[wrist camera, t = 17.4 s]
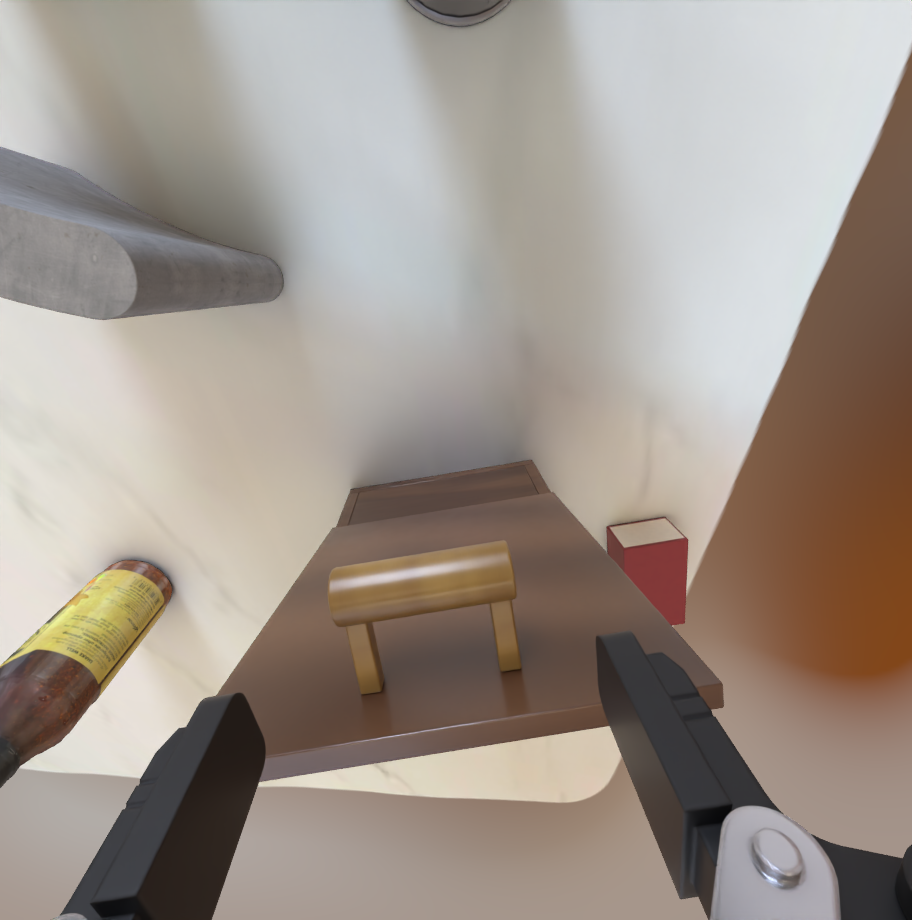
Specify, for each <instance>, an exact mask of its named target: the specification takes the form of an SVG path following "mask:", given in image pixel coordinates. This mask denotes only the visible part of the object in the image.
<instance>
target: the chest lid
mask: <svg viewBox="0 0 912 920" xmlns="http://www.w3.org/2000/svg"><path fill="white" fill-rule="evenodd" d="M629 630H630V631H631V632H632V633H633V634H634V635H635V637H636V638H637V640H638V642H639V644H640V645H641V647H642V649H643V650H644V652H645V654H651V653H657V652H663V653H664V654H665V655H667V656H668V657H669V658H670V659H672V660H673V661H674V662H675V663H677V664H678V665H679V666H680V667H682V668H683V669H684V670H685V672H686V673H687V675H688V676H689V678H690V679H691V681H692V682H693V684H694V685H695V687H696V688H697V690H698V691H699V694H700V696H701V697H703V699H704V700H705V702H706V703H707V705H708V706H709V708H710V710H711V709H718V708H723V707H724V700H723V684H722V683H721V681H720V680H719V679H718V678H717V677H716V676H715V675H714V673H713V672H712V671H711V670H710V669H709V668H708V667H707V665H706V664H705V663H704V662H703V661H702V660H701V659H700V658H699V656H698V655H697V654H696V653H695V652H694V651H693V650H692V649H691V647H690V646H689V645H688V644H687V643H686V642H685V641H684V639H683V638H682V637H681V636H680V635H679V634H678V633H677V632H676V630H675V629H674V628H673V627H672V626H671V625H670V624H669V622H668V621H667V620H666V619H665V618H664V617H663V616H662V615H661V613H660V612H659V611H658V610H657V609H656V608H655V607H654V606H653V604H652V603H651V602H650V601H649V600H648V599H647V598H646V596H645V595H644V594H643V593H642V592H641V591H640V590H639V589H638V587H637V586H636V585H635V584H634V583H633V582H632V581H631V580H630V578H629V577H628V576H627V575H626V574H625V573H624V572H623V570H622V569H621V568H620V567H619V566H618V565H617V564H616V563H615V561H614V560H613V559H612V558H611V557H610V556H609V555H608V554H607V552H606V551H605V550H604V549H603V548H602V547H601V546H600V544H599V543H598V542H597V541H596V540H595V539H594V538H593V537H592V535H591V534H590V533H589V532H588V531H587V530H586V529H585V528H584V526H583V525H582V524H581V523H580V522H579V521H578V520H577V518H576V517H575V516H574V515H573V514H572V513H571V512H570V511H569V509H568V508H567V507H566V506H565V505H564V504H563V503H562V502H561V500H560V499H559V498H558V497H557V496H556V495H555V494H554V493H553V492H551V493H545V494H539V495H533V496H527V497H520V498H514V499H508V500H502V501H496V502H490V503H484V504H478V505H472V506H465V507H459V508H453V509H447V510H441V511H435V512H429V513H423V514H416V515H410V516H404V517H398V518H392V519H386V520H380V521H374V522H367V523H361V524H355V525H349V526H343V527H337V528H332V530H331V531H330V533H329V534H328V535H327V537H326V538H325V540H324V541H323V543H322V544H321V545H320V547H319V548H318V550H317V551H316V553H315V554H314V556H313V557H312V558H311V560H310V561H309V563H308V564H307V566H306V567H305V568H304V570H303V571H302V573H301V574H300V576H299V577H298V579H297V580H296V581H295V583H294V584H293V586H292V587H291V589H290V590H289V591H288V593H287V594H286V596H285V597H284V599H283V600H282V602H281V603H280V604H279V606H278V607H277V609H276V610H275V612H274V613H273V615H272V616H271V617H270V619H269V620H268V622H267V623H266V625H265V626H264V627H263V629H262V630H261V632H260V633H259V635H258V636H257V638H256V639H255V640H254V642H253V643H252V645H251V646H250V648H249V649H248V650H247V652H246V653H245V655H244V656H243V658H242V659H241V661H240V662H239V663H238V665H237V666H236V668H235V669H234V671H233V672H232V673H231V675H230V676H229V678H228V679H227V681H226V682H225V684H224V685H223V686H222V688H221V689H220V691H219V692H218V694H217V695H216V696H220V695H226V694H232V693H238V692H240V693H243V694H244V695H245V697H246V699H247V701H248V703H249V705H250V708H251V710H252V712H253V714H254V716H255V719H256V721H257V723H258V725H259V728H260V730H261V732H262V734H263V737H264V740H265V746H266V757H265V764H264V768H263V772H262V774H261V777H260V780H259V782H262V781H268V780H274V779H280V778H287V777H293V776H299V775H305V774H312V773H318V772H324V771H330V770H337V769H343V768H349V767H355V766H362V765H368V764H374V763H380V762H387V761H393V760H399V759H405V758H412V757H418V756H424V755H430V754H437V753H443V752H449V751H455V750H462V749H468V748H474V747H480V746H487V745H493V744H499V743H505V742H512V741H518V740H524V739H530V738H536V737H543V736H549V735H555V734H561V733H568V732H574V731H580V730H586V729H593V728H599V727H605V726H610V725H609V723H608V720H607V718H606V715H605V712H604V709H603V706H602V703H601V699H600V694H599V688H598V675H597V656H596V636H598V635H604V634H610V633H617V632H623V631H629Z"/></svg>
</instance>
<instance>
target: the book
mask: <svg viewBox="0 0 912 920" xmlns="http://www.w3.org/2000/svg"><path fill="white" fill-rule="evenodd" d="M607 548H608V555H609V556H610V557H611V558H612V559H613V560H614V561H615V563H616V564H617V565H618V566H619V567H620V568H621V569H622V570H623V572H624V573H625V574H626V575H627V576H628V577H629V578H630V580H631V581H632V582H633V583H634V584H635V585H636V586H637V587H638V589H639V590H640V591H641V592H642V593H643V594H644V595H645V596H646V598H647V599H648V600H649V601H650V602H651V603H652V604H653V606H654V607H655V608H656V609H657V610H658V611H659V612H660V613H661V615H662V616H663V617H664V618H665V619H666V620H667V621H668V622H669V624H670V625H677V624H683V623H685V605H686V604H685V603H686V580H687V556H688V539H687V538H686V537H685V536H684V535H683V534H682V533H681V532H680V531H679V530H678V529H677V528H676V527H675V526H674V525H673V524H672V523H671V522H670V521H669V520H668V519H667V518H666V517H662V518H656V519H650V520H644V521H637V522H631V523H625V524H619V525H613V526H607Z"/></svg>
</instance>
